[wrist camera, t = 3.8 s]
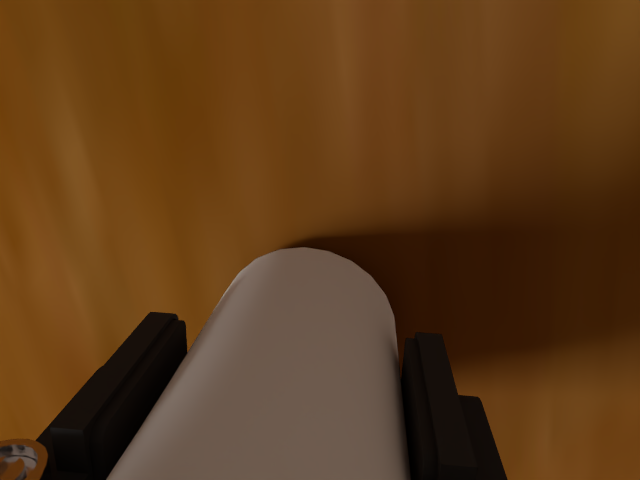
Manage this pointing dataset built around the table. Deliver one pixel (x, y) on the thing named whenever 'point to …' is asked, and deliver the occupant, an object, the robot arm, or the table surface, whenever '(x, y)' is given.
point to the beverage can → (283, 383)
